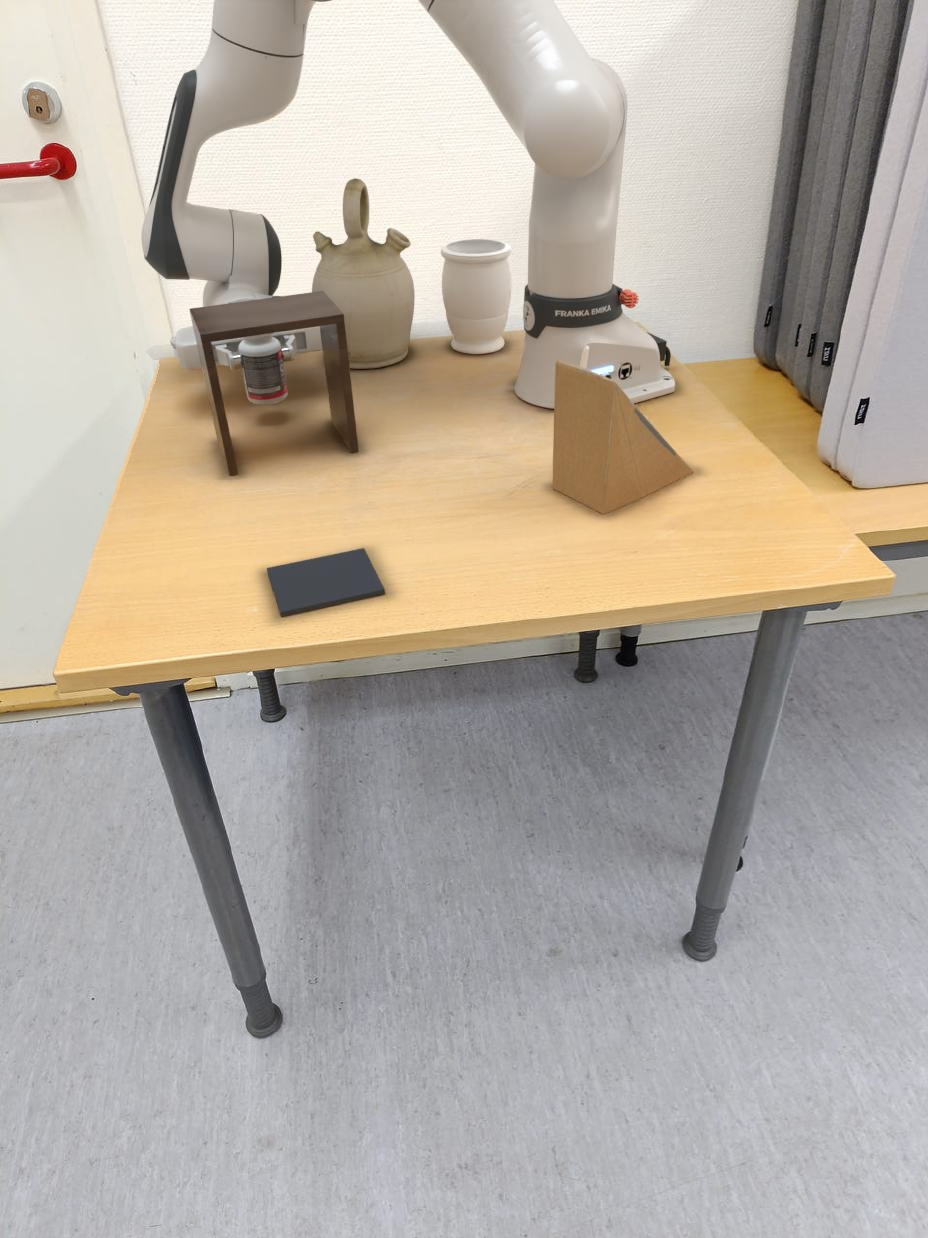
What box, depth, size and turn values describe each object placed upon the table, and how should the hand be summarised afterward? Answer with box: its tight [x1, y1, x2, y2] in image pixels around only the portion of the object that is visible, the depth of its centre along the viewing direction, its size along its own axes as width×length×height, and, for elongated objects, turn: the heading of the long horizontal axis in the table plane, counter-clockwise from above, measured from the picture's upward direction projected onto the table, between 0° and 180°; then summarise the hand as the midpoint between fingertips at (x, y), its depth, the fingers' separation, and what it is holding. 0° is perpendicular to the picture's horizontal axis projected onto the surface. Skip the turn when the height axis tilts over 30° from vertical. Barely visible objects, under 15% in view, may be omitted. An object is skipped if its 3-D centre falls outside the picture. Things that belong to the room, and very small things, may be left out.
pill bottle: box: [238, 333, 289, 405], centre depth 112 cm, size 5×5×10 cm
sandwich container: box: [552, 360, 695, 515], centre depth 95 cm, size 9×15×15 cm, turn 129°
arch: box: [188, 291, 360, 477], centre depth 104 cm, size 10×16×17 cm, turn 111°
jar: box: [440, 238, 512, 355], centre depth 133 cm, size 11×10×15 cm
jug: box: [311, 177, 415, 370], centre depth 128 cm, size 15×16×25 cm
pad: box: [266, 547, 386, 618], centre depth 84 cm, size 10×8×1 cm
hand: (262, 359), depth 111 cm, fingers closed on pill bottle, 5 cm apart
